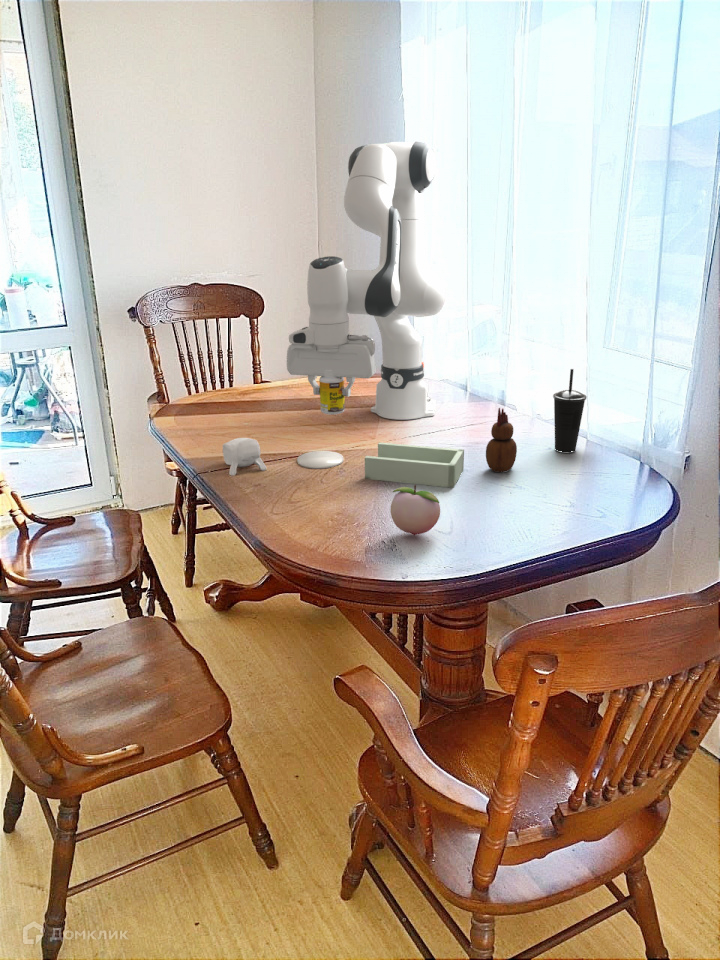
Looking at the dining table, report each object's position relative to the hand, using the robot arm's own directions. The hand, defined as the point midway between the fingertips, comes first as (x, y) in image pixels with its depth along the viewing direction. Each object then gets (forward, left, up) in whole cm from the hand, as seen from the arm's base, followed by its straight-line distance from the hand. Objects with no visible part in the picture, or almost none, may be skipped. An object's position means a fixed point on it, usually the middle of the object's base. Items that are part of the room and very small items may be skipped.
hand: (332, 395), depth 167 cm
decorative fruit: (+33, +28, -17) cm, 46 cm away
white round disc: (-1, -4, -17) cm, 17 cm away
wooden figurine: (-6, +38, -17) cm, 42 cm away
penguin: (+9, -19, -17) cm, 27 cm away
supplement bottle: (0, 0, -4) cm, 4 cm away
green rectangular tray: (+2, +20, -17) cm, 26 cm away
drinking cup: (-24, +51, -17) cm, 59 cm away
